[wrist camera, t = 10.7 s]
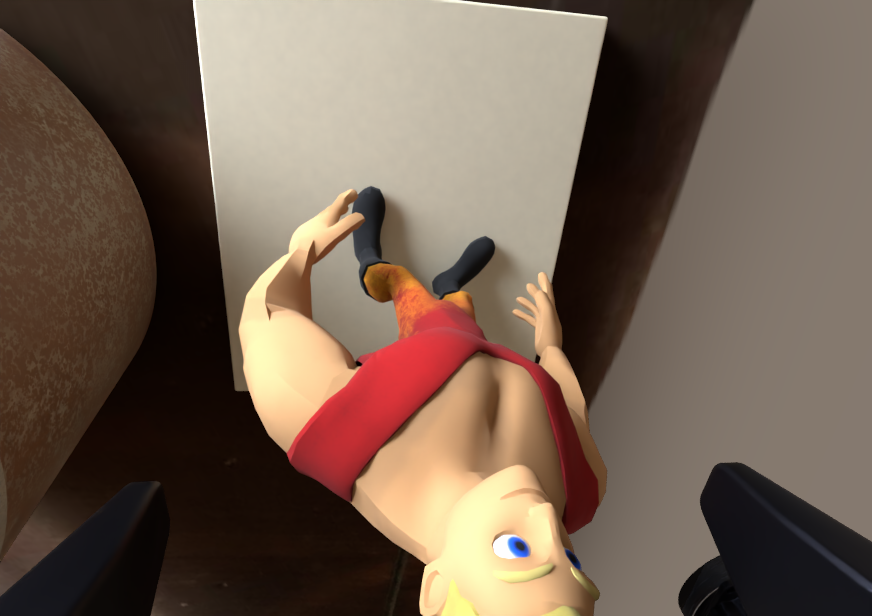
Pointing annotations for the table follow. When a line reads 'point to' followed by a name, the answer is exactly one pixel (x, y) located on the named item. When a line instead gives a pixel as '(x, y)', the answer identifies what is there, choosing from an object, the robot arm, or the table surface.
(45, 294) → the planter
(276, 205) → the display board
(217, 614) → the table surface
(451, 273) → the action figure
